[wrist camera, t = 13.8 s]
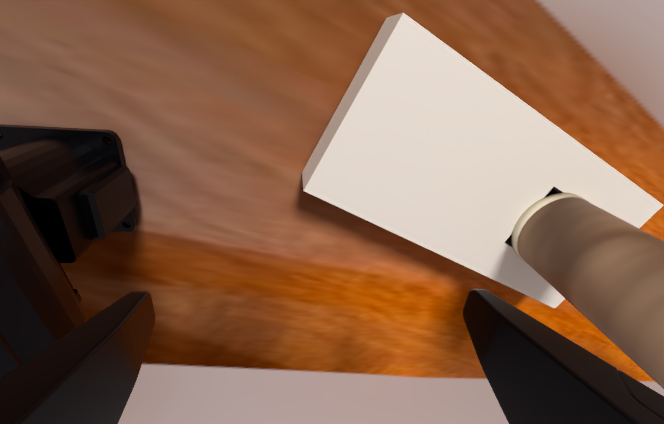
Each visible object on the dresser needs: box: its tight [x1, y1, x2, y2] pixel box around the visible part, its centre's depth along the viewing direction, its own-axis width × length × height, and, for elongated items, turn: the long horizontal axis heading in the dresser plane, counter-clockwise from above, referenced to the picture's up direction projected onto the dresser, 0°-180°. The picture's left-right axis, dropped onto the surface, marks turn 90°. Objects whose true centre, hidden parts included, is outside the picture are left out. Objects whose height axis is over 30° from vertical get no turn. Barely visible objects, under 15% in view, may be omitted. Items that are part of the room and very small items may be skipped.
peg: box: [511, 193, 664, 389], centre depth 18 cm, size 5×5×13 cm
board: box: [302, 13, 663, 308], centre depth 21 cm, size 22×10×3 cm, turn 60°
